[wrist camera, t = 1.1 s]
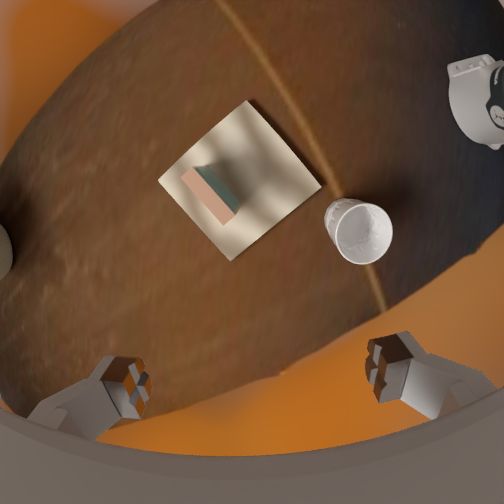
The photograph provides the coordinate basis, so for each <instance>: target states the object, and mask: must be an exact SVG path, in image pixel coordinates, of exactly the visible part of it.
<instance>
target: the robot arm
mask: <svg viewBox="0 0 504 504" xmlns="http://www.w3.org/2000/svg"><path fill="white" fill-rule="evenodd" d="M456 67H457V68H456ZM447 68H448V74H449V78H450V85H449V101H450V106H451V109H452V112H453V115H454V117H455V120H456V122H457V123H458V125H459V127H460V128H461V130H462V131H463V132H464V133H465V134H466V135H467V136H468V137H469V138H470V139H471V140H473V141H475V142H477V143H481V144H486V145H488V146H489V147H490V148H492V149H493V150H498V149H499V148H500V146H501V144H504V61H502V60H500V61H497V62H496V61H495V60H494V59H493V58H492V57H491V56H489V55H488V54H484V55H480V56H476V57H472V58H468V59H464V60H461V61H457V62H454V63H450V64H448V67H447ZM367 349H368V352H369V353H370V355H369V356H368V357H367V358H366V363H365V369H366V376H367V379H368V381H369V383H370V384H372V385H374V389H373V392H374V394H375V397H376V399H377V401H378V403H383V402H388V401H392V400H396V399H400V398H401V400H402V401H404V402H405V403H407V404H408V405H410V406H411V407H413V408H414V409H416V410H417V411H419V412H420V413H422V414H423V415H425V416H427V417H428V418H430V419H431V421H428V422H425V423H422V424H419V425H416V426H413V427H411V428H407V429H404V430H401V431H398V432H394V433H391V434H388V435H384V436H380V437H377V438H373V439H369V440H365V441H360V442H356V443H351V444H347V445H341V446H336V447H331V448H326V449H318V450H312V451H304V452H296V453H287V454H276V455H261V456H230V457H229V456H226V457H225V456H194V455H180V454H170V453H160V452H153V451H145V450H139V449H132V448H126V447H121V446H116V445H111V444H106V443H102V442H98V441H94V440H95V439H96V438H97V437H99V436H100V435H101V434H103V433H104V432H105V431H106V430H107V429H109V428H110V427H111V426H112V425H113V424H115V423H116V422H117V421H118V420H119V419H121V417H125V418H135V419H141V417H142V415H143V413H144V410H145V408H146V406H145V404H144V402H145V401H147V400H148V399H149V398H150V396H151V393H152V384H151V379H150V377H149V375H148V374H147V373H146V372H144V369H145V364H144V361H143V359H141V358H140V357H125V356H110V355H107V356H104V357H103V359H102V360H101V361H100V363H99V364H98V366H97V367H96V368H95V370H94V371H93V372H92V374H91V375H90V377H89V378H88V379H83V380H82V381H80V382H78V383H76V384H74V385H72V386H70V387H68V388H66V389H64V390H62V391H60V392H58V393H56V394H54V395H52V396H50V397H48V398H46V399H44V400H42V401H40V403H39V404H38V405H37V407H36V408H35V409H34V410H33V412H32V413H31V414H30V416H29V417H28V418H27V419H25V418H23V417H20V416H18V415H16V414H13V413H11V412H9V411H6V410H4V409H2V408H0V504H504V386H503V387H501V388H500V389H498V390H497V388H496V387H495V386H494V385H493V384H492V383H491V381H490V380H489V379H488V378H487V377H486V376H485V375H484V373H483V372H482V371H478V370H476V369H473V368H470V367H467V366H465V365H462V364H459V363H456V362H453V361H451V360H448V359H445V358H442V357H439V356H437V355H434V354H432V353H430V354H427V353H426V352H425V351H424V349H423V348H422V347H421V346H420V344H419V343H418V342H417V341H416V340H415V339H414V337H413V336H412V335H411V334H410V332H408V331H404V332H400V333H396V334H394V335H389V336H384V337H380V338H375V339H370V340H369V342H368V347H367Z"/></svg>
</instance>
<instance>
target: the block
mask: <svg viewBox="0 0 504 504" xmlns="http://www.w3.org/2000/svg"><path fill="white" fill-rule="evenodd" d="M180 178H181V179H182V180H183V181H184V182H185V183H186V185H187V186H188V187H189V188H190V189H191V190H192V191H193V192H194V194H195V195H196V196H197V197H198V198H199V199H200V200H201V201H202V202H203V204H204V205H205V206H206V207H207V208H208V209H209V210H210V211H211V213H212V214H213V215H214V216H215V217H216V218H217V219H218V220H219V222H220V223H221V224H222V225H223V226H224V225H225V224H226V223H227V222H228V221H229V220H231V219H232V218H233V217H234V216H235V215H236V213H237V212H238V210H239V208H240V206H241V205H240V202H239V201H238V199H237V198H236V197H235V196H234V195H233V194H232V193H231V191H230V190H229V189H228V188H227V187H226V186H225V185H224V184H223V182H222V181H221V180H220V179H219V178H218V177H217V176H216V175H215V173H214V172H213V171H212V170H211V169H210V168H209V167H208V166H192V167H191V168H190V169H189V170H188V171H187V172H186V173H185V174H184V175H182V176H181V177H180Z"/></svg>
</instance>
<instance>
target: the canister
mask: <svg viewBox="0 0 504 504" xmlns="http://www.w3.org/2000/svg"><path fill="white" fill-rule="evenodd" d="M12 261H13V252H12V245H11V241H10V238H9V236H8V234H7V232H6V230H5V229H4V228H3V226H2V225H1V224H0V280H1V279H2V278H3V277H4V276H5V275H6V274H7V273H8V272H9V270H10V268H11V265H12Z"/></svg>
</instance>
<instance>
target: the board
mask: <svg viewBox="0 0 504 504" xmlns="http://www.w3.org/2000/svg"><path fill="white" fill-rule="evenodd" d="M192 166H208V167H209V168H210V169H211V170H212V171H213V172H214V173H215V175H216V176H217V177H218V178H219V179H220V180H221V181H222V182H223V184H224V185H225V186H226V187H227V188H228V189H229V190H230V191H231V193H232V194H233V195H234V196H235V197H236V198H237V199H238V201H239V202H240V205H241V206H240V208H239V210H238V212H237V213H236V215H235V216H234V217H233V218H232V219H231V220H229V221H228V222H227V223H226V224H225V225H224V226H223V225H222V224H221V223H220V222H219V220H218V219H217V218H216V217H215V216H214V215H213V214H212V213H211V211H210V210H209V209H208V208H207V207H206V206H205V205H204V204H203V202H202V201H201V200H200V199H199V198H198V197H197V196H196V195H195V194H194V192H193V191H192V190H191V189H190V188H189V187H188V186H187V185H186V183H185V182H184V181H183V180H182V179H181V178H180V177H181V176H182V175H184V174H185V173H186V172H187V171H188V170H189V169H190V168H191V167H192ZM158 181H159V182H160V184H161V185H162V186H163V187H164V188H165V189H166V190H167V191H168V193H169V194H170V195H171V196H172V197H173V198H174V199H175V201H176V202H177V203H178V204H179V205H180V206H181V207H182V208H183V209H184V211H185V212H186V213H187V214H188V215H189V216H190V217H191V218H192V220H193V221H194V222H195V223H196V224H197V225H198V226H199V227H200V228H201V230H202V231H203V232H204V233H205V234H206V235H207V236H208V237H209V238H210V240H211V241H212V242H213V243H214V244H215V245H216V246H217V247H218V248H219V249H220V251H221V252H222V253H223V254H224V255H225V256H226V257H227V258H228V259H229V260H230V261H231V260H232V259H234V258H235V257H236V256H237V255H239V254H240V253H241V252H242V251H243V250H245V249H246V248H247V247H248V246H250V245H251V244H252V243H253V242H254V241H256V240H257V239H258V238H259V237H261V236H262V235H263V234H264V233H266V232H267V231H268V230H269V229H270V228H272V227H273V226H274V225H275V224H277V223H278V222H279V221H280V220H282V219H283V218H284V217H285V216H286V215H288V214H289V213H290V212H291V211H293V210H294V209H295V208H296V207H298V206H299V205H300V204H301V203H303V202H304V201H305V200H306V199H307V198H309V197H310V196H311V195H312V194H314V193H315V192H316V191H317V190H319V189H320V188H321V186H320V185H319V183H318V182H317V181H316V179H315V178H314V177H313V176H312V174H311V173H310V172H309V171H308V170H307V168H306V167H305V166H304V165H303V163H302V162H301V161H300V160H299V159H298V157H297V156H296V155H295V154H294V153H293V151H292V150H291V149H290V148H289V147H288V146H287V144H286V143H285V142H284V141H283V140H282V139H281V137H280V136H279V135H278V134H277V133H276V132H275V131H274V130H273V128H272V127H271V126H270V125H269V124H268V123H267V122H266V121H265V120H264V118H263V117H262V116H261V115H260V114H259V113H258V112H257V111H256V110H255V109H254V108H253V107H252V106H251V105H250V103H249V102H248V101H247V100H246V101H245V102H243V103H242V104H241V105H240V106H239V107H237V108H236V109H235V110H234V111H232V112H231V113H230V114H229V115H228V116H226V117H225V118H224V119H223V120H222V121H221V122H219V123H218V124H217V125H216V126H215V127H214V128H212V129H211V130H210V131H209V132H208V133H207V134H206V135H205V136H203V137H202V138H201V139H200V140H199V141H198V142H197V143H196V144H195V145H194V146H193V147H191V148H190V149H189V150H188V151H187V152H186V153H185V154H184V155H183V156H182V157H181V158H180V159H179V160H178V161H177V162H176V163H175V164H174V165H173V166H172V167H171V168H170V169H169V170H168V171H167V172H166V173H165V174H164V175H163V176H162V177H161V178H160V179H159V180H158Z"/></svg>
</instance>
